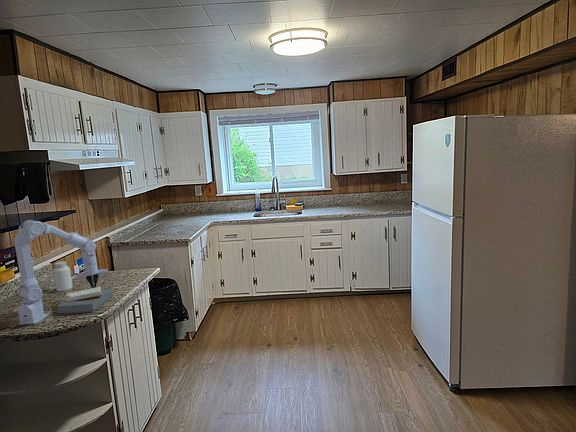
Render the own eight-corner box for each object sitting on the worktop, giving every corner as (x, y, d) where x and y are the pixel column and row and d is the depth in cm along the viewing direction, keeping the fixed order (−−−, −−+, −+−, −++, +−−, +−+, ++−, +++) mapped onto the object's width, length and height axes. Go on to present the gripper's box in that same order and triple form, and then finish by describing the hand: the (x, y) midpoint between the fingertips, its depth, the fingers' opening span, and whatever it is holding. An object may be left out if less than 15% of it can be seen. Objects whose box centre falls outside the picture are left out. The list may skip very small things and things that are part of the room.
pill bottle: (64, 292, 207) (59, 265, 205) (52, 291, 210) (48, 264, 208) (76, 286, 215) (72, 260, 212) (65, 286, 217) (61, 260, 215)
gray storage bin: (93, 312, 176) (92, 303, 176) (58, 314, 177) (57, 306, 176) (113, 295, 196) (112, 288, 195) (81, 297, 196) (80, 290, 196)
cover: (100, 295, 186) (100, 290, 185) (66, 302, 180) (65, 297, 179) (101, 290, 193) (100, 285, 192) (67, 296, 187) (67, 291, 187)
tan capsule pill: (99, 303, 184) (99, 298, 184) (84, 304, 184) (84, 299, 184) (101, 303, 186) (102, 298, 187) (87, 304, 186) (87, 299, 187)
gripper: (106, 258, 197) (109, 284, 200) (73, 264, 191) (78, 290, 193) (106, 261, 191) (110, 288, 193) (73, 267, 185) (77, 294, 187)
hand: (94, 289), depth 193 cm, fingers closed, pressing on cover
